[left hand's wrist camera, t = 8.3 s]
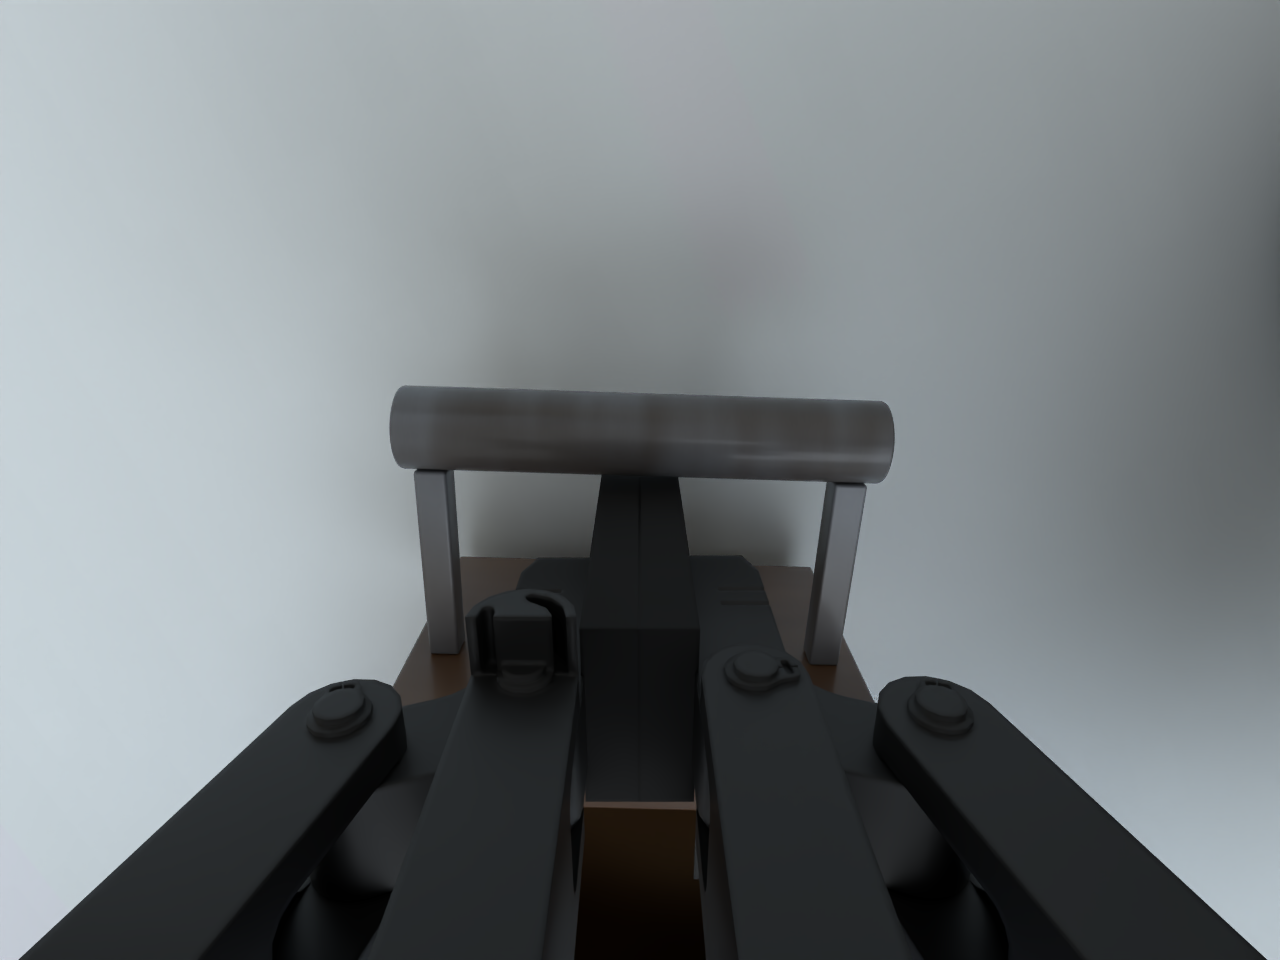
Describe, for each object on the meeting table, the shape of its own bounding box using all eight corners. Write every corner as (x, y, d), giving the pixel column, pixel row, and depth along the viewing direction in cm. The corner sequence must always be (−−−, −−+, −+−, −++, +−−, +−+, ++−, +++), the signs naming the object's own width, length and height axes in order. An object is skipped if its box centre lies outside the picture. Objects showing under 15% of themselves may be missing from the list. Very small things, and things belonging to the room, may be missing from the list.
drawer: (445, 345, 16) (313, 436, 10) (839, 358, 16) (971, 457, 10) (493, 1047, 25) (443, 1333, 19) (743, 1053, 25) (778, 1340, 19)
